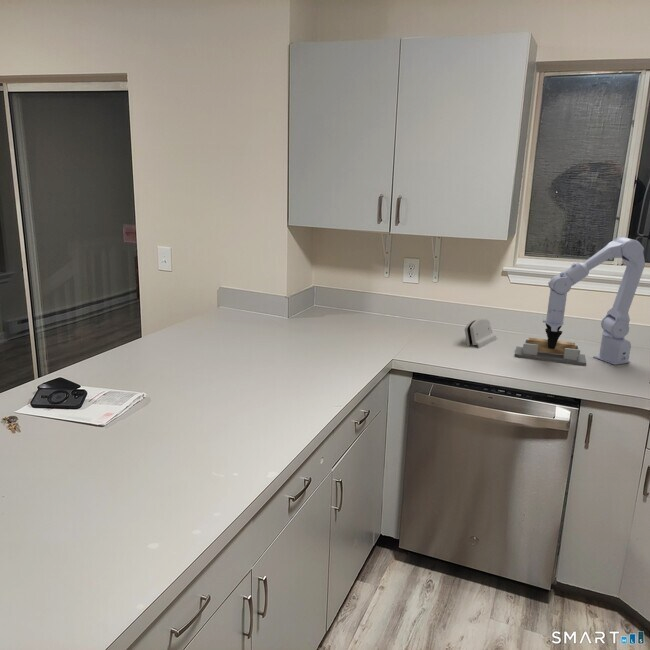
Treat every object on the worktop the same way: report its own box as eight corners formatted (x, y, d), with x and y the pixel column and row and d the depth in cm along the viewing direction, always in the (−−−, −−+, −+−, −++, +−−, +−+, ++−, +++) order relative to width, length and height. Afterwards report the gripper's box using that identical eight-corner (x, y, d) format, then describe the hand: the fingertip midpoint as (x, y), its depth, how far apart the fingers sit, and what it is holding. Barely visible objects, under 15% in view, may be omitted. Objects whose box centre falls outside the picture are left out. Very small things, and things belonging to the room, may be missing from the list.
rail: (573, 353, 213) (575, 342, 212) (573, 355, 210) (575, 345, 209) (527, 347, 218) (528, 337, 217) (527, 350, 215) (528, 339, 214)
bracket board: (584, 357, 215) (586, 344, 214) (586, 365, 206) (587, 352, 205) (516, 348, 223) (517, 336, 222) (514, 356, 214) (516, 344, 213)
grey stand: (479, 348, 223) (473, 322, 222) (467, 349, 226) (462, 324, 225) (497, 339, 235) (491, 315, 235) (486, 340, 238) (480, 316, 238)
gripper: (544, 303, 218) (540, 338, 222) (544, 312, 205) (539, 349, 208) (564, 305, 216) (559, 341, 219) (565, 314, 202) (560, 352, 206)
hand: (551, 345), depth 214 cm, fingers open, 7 cm apart
